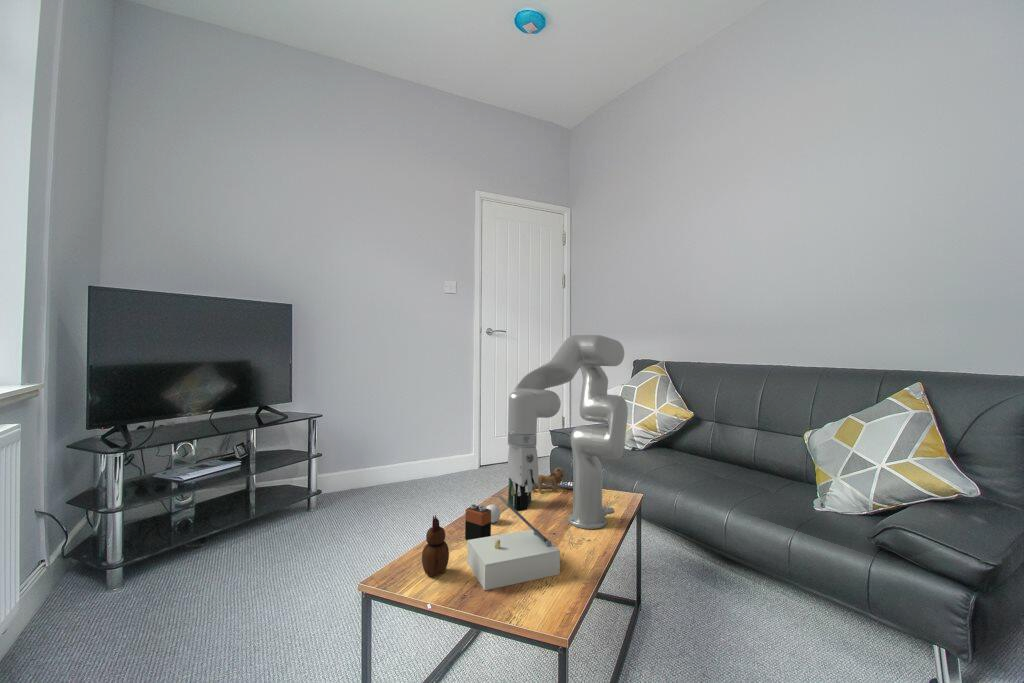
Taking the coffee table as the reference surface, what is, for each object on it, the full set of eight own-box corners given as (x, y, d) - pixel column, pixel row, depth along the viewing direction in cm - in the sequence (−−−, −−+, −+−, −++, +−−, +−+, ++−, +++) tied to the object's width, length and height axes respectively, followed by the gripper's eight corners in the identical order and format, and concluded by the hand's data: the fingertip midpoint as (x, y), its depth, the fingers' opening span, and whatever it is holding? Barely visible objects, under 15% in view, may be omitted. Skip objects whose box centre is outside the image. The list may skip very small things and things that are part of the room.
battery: (482, 545, 125) (482, 510, 125) (464, 539, 128) (464, 505, 129) (491, 540, 128) (492, 506, 128) (473, 534, 132) (474, 501, 132)
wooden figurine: (434, 582, 105) (435, 520, 105) (417, 575, 108) (418, 514, 108) (452, 570, 111) (453, 511, 111) (435, 564, 114) (436, 506, 114)
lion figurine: (560, 487, 178) (560, 465, 178) (566, 491, 173) (566, 469, 173) (527, 491, 173) (527, 468, 173) (532, 495, 168) (533, 472, 168)
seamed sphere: (483, 518, 145) (484, 501, 145) (500, 519, 144) (501, 502, 144) (481, 528, 137) (481, 510, 137) (499, 528, 137) (499, 510, 137)
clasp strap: (536, 535, 118) (539, 532, 119) (547, 545, 113) (550, 541, 113) (497, 497, 114) (500, 494, 114) (506, 505, 108) (509, 501, 109)
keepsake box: (535, 550, 122) (535, 522, 122) (559, 574, 109) (559, 543, 110) (467, 562, 115) (467, 533, 115) (484, 590, 102) (485, 556, 102)
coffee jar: (512, 498, 164) (513, 449, 164) (533, 501, 162) (533, 451, 162) (505, 507, 155) (505, 455, 155) (526, 510, 152) (527, 457, 153)
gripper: (548, 444, 108) (547, 518, 108) (523, 433, 122) (522, 498, 121) (520, 446, 105) (519, 522, 105) (498, 434, 119) (497, 502, 118)
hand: (520, 509), depth 113 cm, fingers closed
